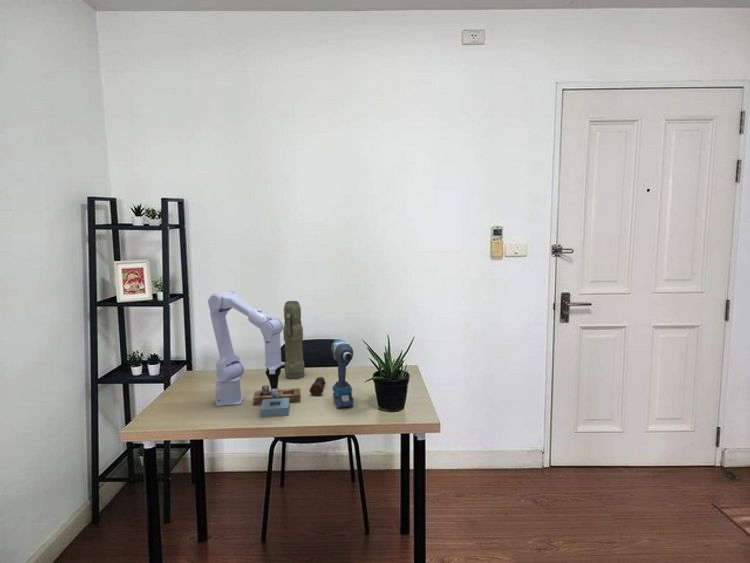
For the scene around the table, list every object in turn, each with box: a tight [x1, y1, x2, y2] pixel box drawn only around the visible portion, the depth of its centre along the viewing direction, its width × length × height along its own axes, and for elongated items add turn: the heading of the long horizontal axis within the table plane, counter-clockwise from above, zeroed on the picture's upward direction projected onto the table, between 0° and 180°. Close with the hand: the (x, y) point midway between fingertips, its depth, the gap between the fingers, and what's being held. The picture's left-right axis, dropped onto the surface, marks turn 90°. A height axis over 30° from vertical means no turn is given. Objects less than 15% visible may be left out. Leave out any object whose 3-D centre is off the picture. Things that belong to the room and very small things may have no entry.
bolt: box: [309, 376, 326, 397], centre depth 207 cm, size 6×5×15 cm
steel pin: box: [270, 385, 280, 399], centre depth 184 cm, size 3×3×7 cm
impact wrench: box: [331, 338, 354, 409], centre depth 188 cm, size 8×22×25 cm, turn 15°
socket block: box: [259, 398, 291, 418], centre depth 185 cm, size 10×10×3 cm
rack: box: [252, 388, 301, 406], centre depth 196 cm, size 18×8×3 cm, turn 98°
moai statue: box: [282, 300, 306, 380], centre depth 224 cm, size 9×12×35 cm
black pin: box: [261, 384, 270, 396], centre depth 195 cm, size 3×3×6 cm
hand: (274, 387), depth 184 cm, fingers closed on steel pin, 3 cm apart
